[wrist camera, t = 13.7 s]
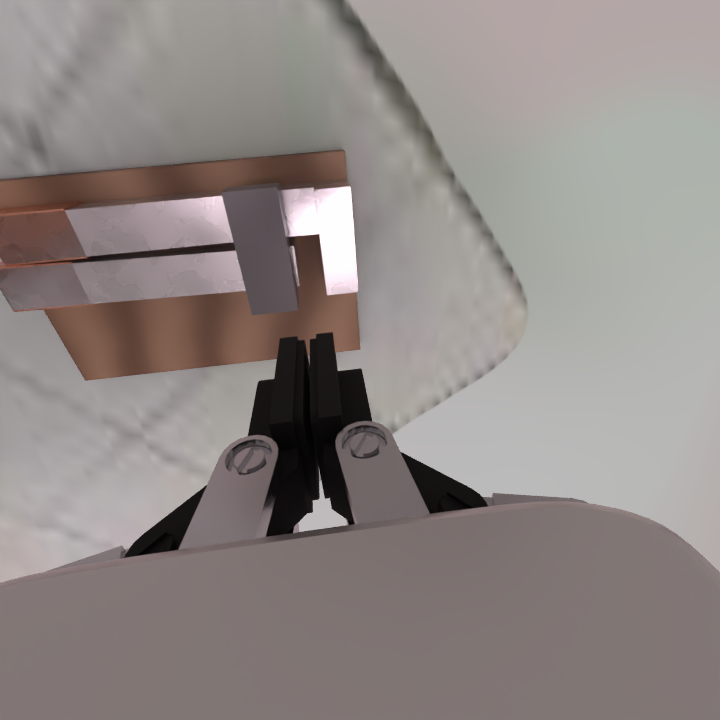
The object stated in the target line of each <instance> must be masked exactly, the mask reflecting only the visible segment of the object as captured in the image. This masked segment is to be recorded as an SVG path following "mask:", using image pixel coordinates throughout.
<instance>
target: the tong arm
mask: <svg viewBox="0 0 720 720" xmlns="http://www.w3.org/2000/svg"><path fill="white" fill-rule="evenodd" d="M289 243H290V249H291V255H292V261H293V266H294V272H295V278H296V284H297V287H298V286H300V269H299V261H298V254H297V247H296V240H295V237H289ZM0 290H1V291H2V293H3V295H4V296H5V298H6V300H7V301H8V303H9V304H10V306H11V308H12V309H13V311H14V312H19V311H30V310H42V309H54V308H66V307H78V306H90V305H93V304H97V303H108V302H120V301H132V300H144V299H156V298H168V297H180V296H192V295H203V294H215V293H227V292H239V291H246V289H245V285H244V281H243V277H242V273H241V269H240V265H239V261H238V258H237V254H236V250H235V246H234V242H231V243H221V244H211V245H200V246H190V247H180V248H170V249H159V250H149V251H139V252H129V253H118V254H108V255H98V256H90V257H88V258H84V259H74V260H63V261H53V262H43V263H33V264H23V265H12V266H5V264H4V262H3V261H2V262H0Z"/></svg>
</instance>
